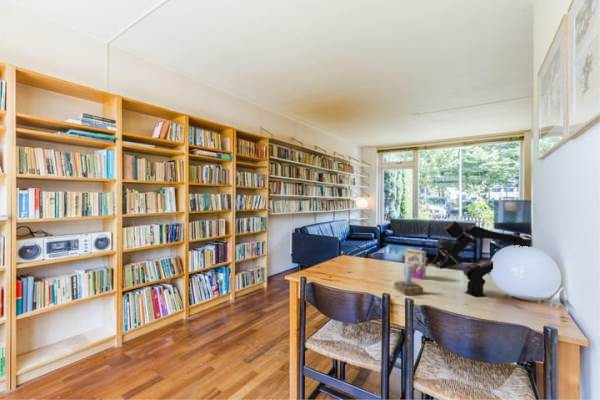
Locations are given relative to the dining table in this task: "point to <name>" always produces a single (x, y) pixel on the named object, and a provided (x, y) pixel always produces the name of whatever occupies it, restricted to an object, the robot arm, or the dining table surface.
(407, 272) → the peg
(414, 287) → the hole block
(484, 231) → the robot arm
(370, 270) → the dining table surface
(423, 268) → the candy bar box
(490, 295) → the dining table surface
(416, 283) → the mat
